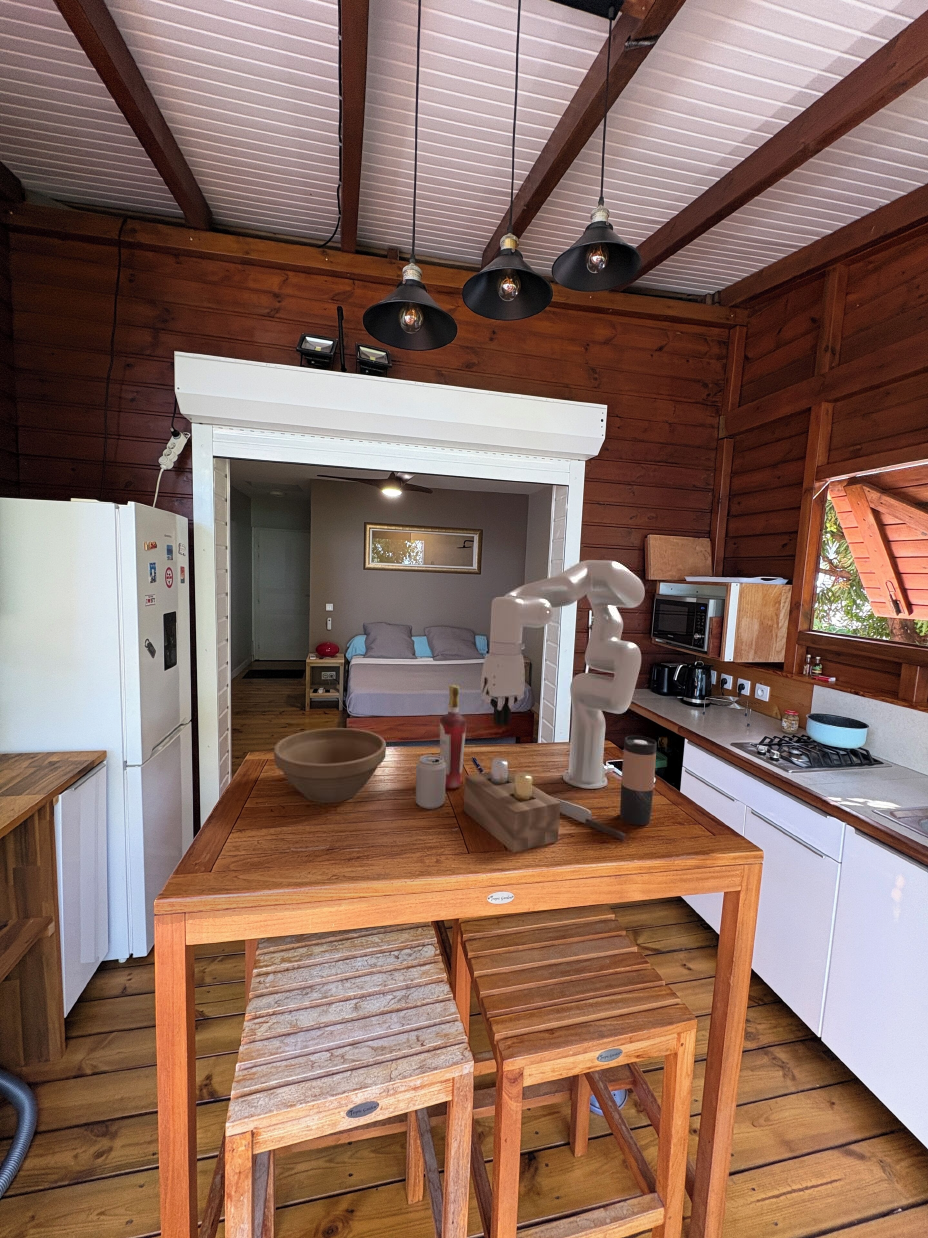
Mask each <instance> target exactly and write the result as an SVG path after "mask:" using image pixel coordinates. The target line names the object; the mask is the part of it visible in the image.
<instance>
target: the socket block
mask: <svg viewBox="0 0 928 1238" xmlns="http://www.w3.org/2000/svg"><path fill="white" fill-rule="evenodd" d="M515 774H516V773H513V772H512V771H511V770H509V769H508V774H507V784H503V785H497V786H496V785H494V784H493V783H491V770H490V771H486V772H485V771H484V772H480V773H479V772H478V773H474V774H468V775H465V778H464V779H465V780H464V798H463V799H464V800H463V801H464V802H463V811H464V812H465V813H466V814H467V815H469V817H471V819H473V820H474V821H475V822H477V823H478V824H479V825H480V826H481V827H482V828H484V829H485V830H486V831H487V832H488V833H490V834H491V835H492V836H493V837H494V838H496V839H497V841H499V842H500V843H501V844H502V845H503V846H505V847H506V848H507V849H508V850H509V851H511V852H512V853H513V854H515V853H518V852H522V851H526V850H530V849H533V848H534V849H535V848H537V847H540V846H545V845H548V844H552V843H556V842H559V829H560V815H561V814H560V813H561V812H560V802H559V801H557V800H555V799H554V798H555V797H554V798H552V797H553V796H551V795H548V794H547V793H545V792H544V791H542V790H541V789H539V788H537V787H536V786H534V785H533V784H532V797H531V800H529V801H524V802H519V801H517V800H516V799H514V782H515ZM550 796H551V797H550Z"/></svg>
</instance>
